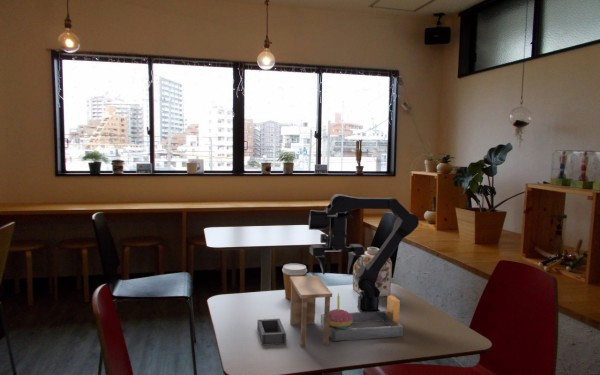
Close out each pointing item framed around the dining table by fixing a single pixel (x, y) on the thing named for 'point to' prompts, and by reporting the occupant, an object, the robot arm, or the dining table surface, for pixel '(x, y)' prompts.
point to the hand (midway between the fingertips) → (336, 273)
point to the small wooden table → (308, 303)
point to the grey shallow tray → (371, 332)
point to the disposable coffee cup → (292, 271)
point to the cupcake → (339, 317)
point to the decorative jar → (384, 274)
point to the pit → (271, 331)
